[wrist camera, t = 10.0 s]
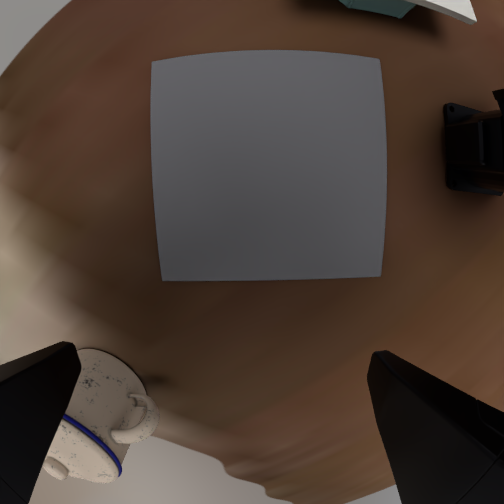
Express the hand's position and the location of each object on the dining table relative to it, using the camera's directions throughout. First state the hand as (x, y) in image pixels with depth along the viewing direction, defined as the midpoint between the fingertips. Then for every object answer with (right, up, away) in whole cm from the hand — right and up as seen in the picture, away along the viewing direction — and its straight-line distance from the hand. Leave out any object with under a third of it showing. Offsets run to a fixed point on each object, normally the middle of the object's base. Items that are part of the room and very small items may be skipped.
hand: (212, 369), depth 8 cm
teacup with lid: (-11, -9, +16) cm, 21 cm away
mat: (+2, +9, +10) cm, 14 cm away
